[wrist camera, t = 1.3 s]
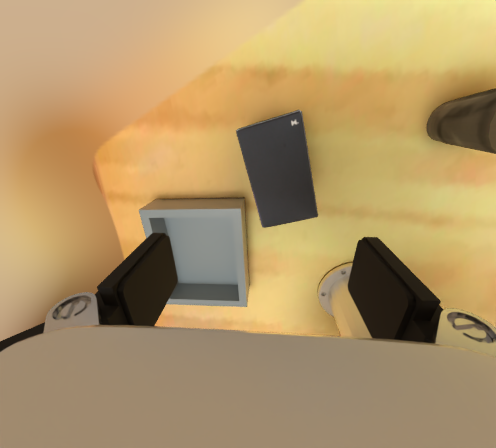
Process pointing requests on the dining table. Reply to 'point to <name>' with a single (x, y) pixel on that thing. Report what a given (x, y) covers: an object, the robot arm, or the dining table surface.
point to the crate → (204, 248)
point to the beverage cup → (466, 122)
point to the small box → (279, 169)
